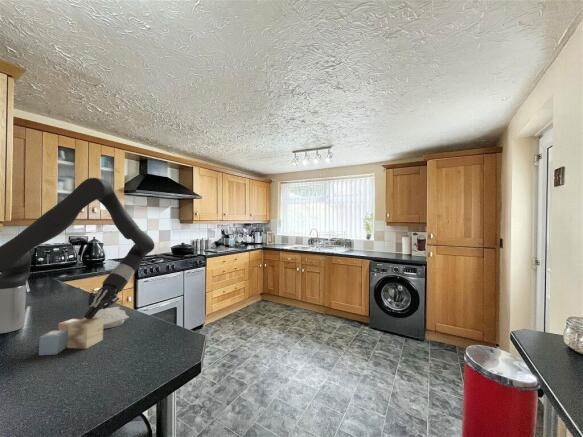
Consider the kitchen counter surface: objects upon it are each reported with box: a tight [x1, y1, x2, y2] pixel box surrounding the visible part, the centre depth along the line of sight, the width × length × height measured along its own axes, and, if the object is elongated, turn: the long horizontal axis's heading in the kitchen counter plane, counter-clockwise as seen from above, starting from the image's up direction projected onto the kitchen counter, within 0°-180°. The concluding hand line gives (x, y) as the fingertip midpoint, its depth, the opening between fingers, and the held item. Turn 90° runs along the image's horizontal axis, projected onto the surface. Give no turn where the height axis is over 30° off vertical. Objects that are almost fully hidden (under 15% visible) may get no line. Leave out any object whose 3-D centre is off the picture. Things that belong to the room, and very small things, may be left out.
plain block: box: [66, 317, 104, 350], centre depth 90 cm, size 7×7×8 cm
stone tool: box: [93, 306, 130, 330], centre depth 113 cm, size 13×4×25 cm
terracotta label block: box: [57, 318, 81, 342], centre depth 95 cm, size 5×5×6 cm
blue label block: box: [38, 329, 68, 356], centre depth 85 cm, size 5×5×6 cm
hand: (87, 318), depth 90 cm, fingers closed
